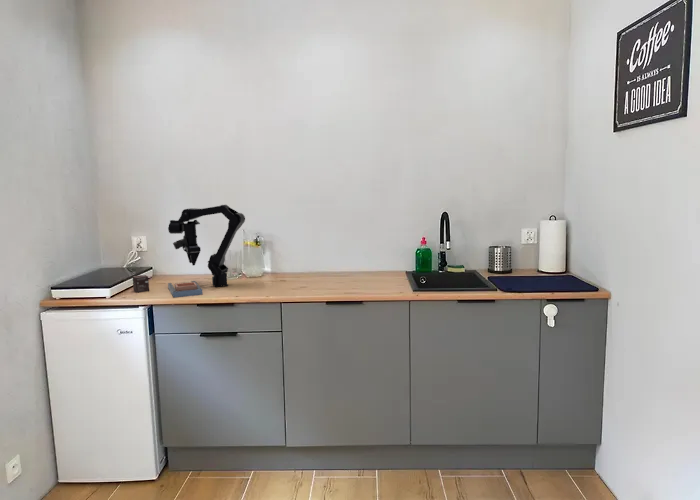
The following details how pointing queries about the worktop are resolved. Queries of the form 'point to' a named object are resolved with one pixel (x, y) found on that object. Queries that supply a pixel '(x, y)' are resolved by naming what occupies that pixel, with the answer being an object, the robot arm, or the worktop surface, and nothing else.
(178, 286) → the crate
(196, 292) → the crate bay
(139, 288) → the box
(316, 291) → the worktop surface
